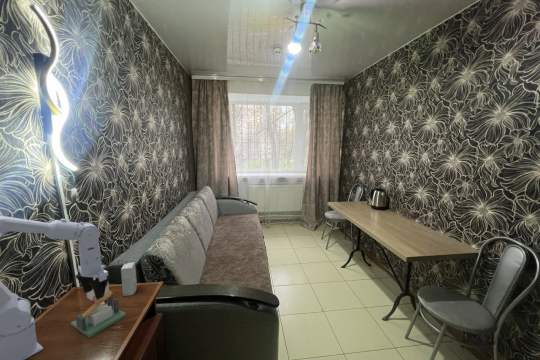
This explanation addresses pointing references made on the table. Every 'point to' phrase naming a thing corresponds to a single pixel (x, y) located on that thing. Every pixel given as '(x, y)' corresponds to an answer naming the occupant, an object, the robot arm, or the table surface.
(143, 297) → the table surface
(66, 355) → the table surface
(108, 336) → the table surface
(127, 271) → the skincare box
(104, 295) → the strap
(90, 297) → the ink cartridge box
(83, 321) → the board
